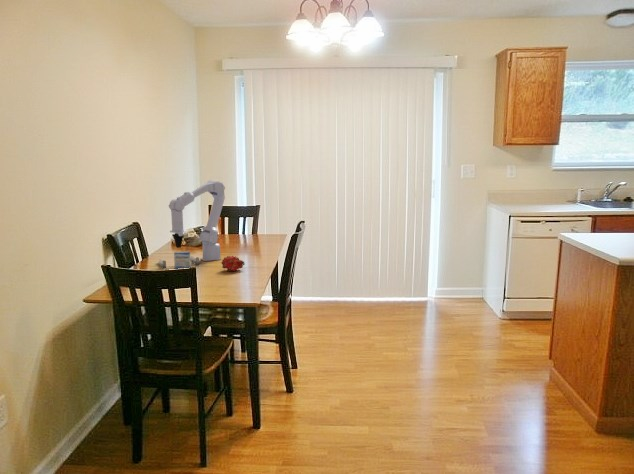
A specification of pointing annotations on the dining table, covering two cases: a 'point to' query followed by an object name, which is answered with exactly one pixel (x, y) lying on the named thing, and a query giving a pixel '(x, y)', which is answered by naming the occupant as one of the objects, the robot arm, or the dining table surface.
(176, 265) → the medicine box
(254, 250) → the dining table surface
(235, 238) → the dining table surface
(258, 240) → the dining table surface
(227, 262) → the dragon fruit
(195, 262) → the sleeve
